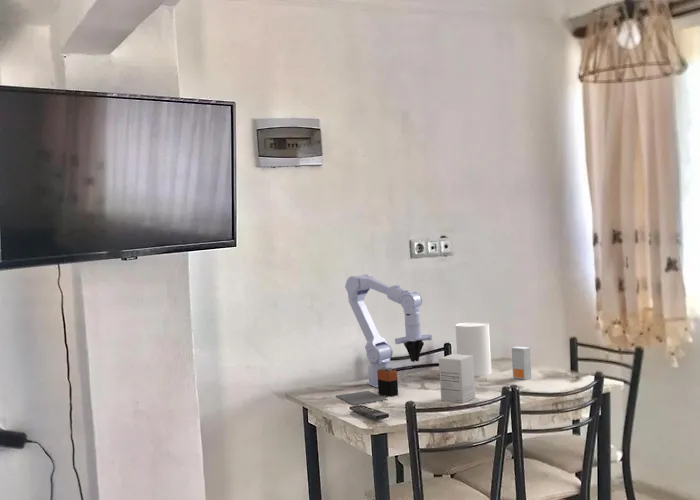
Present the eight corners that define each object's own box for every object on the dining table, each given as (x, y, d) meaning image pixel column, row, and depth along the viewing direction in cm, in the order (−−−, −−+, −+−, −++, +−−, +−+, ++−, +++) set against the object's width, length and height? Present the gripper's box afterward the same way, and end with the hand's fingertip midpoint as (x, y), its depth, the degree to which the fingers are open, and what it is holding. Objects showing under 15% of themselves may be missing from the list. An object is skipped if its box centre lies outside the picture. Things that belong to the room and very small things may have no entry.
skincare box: (512, 378, 282) (510, 347, 282) (519, 376, 284) (518, 345, 284) (524, 380, 277) (523, 348, 277) (532, 378, 280) (530, 347, 279)
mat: (336, 396, 267) (336, 395, 267) (368, 391, 272) (368, 390, 272) (353, 405, 251) (353, 404, 251) (387, 400, 256) (387, 399, 256)
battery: (389, 397, 261) (388, 369, 261) (377, 394, 266) (376, 367, 266) (398, 395, 263) (397, 367, 263) (387, 392, 269) (385, 365, 269)
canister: (451, 372, 299) (449, 324, 299) (478, 368, 305) (476, 321, 304) (470, 377, 287) (467, 327, 286) (498, 373, 293) (495, 324, 292)
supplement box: (453, 395, 258) (451, 353, 258) (476, 397, 252) (473, 355, 252) (440, 400, 251) (437, 357, 251) (462, 403, 245) (460, 359, 245)
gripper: (400, 328, 266) (402, 364, 266) (434, 324, 271) (436, 360, 271) (391, 326, 272) (393, 362, 272) (426, 322, 277) (427, 357, 278)
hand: (414, 361), depth 272 cm, fingers closed
